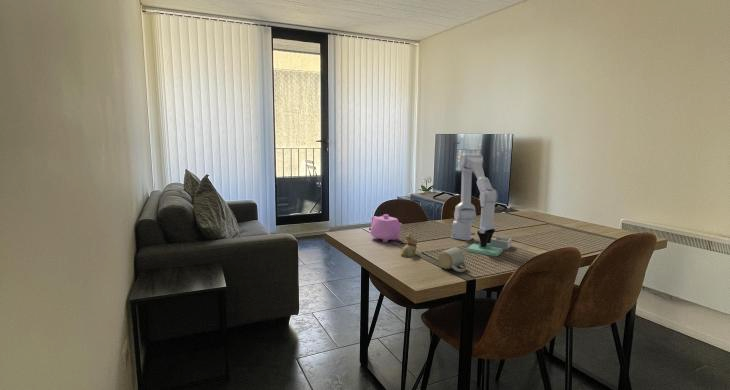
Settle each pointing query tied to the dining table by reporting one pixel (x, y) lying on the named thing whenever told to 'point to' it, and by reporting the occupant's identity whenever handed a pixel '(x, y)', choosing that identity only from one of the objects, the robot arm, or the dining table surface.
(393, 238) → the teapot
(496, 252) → the lid
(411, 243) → the chocolate bunny
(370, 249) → the dining table surface
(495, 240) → the box
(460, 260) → the ceramic mug
